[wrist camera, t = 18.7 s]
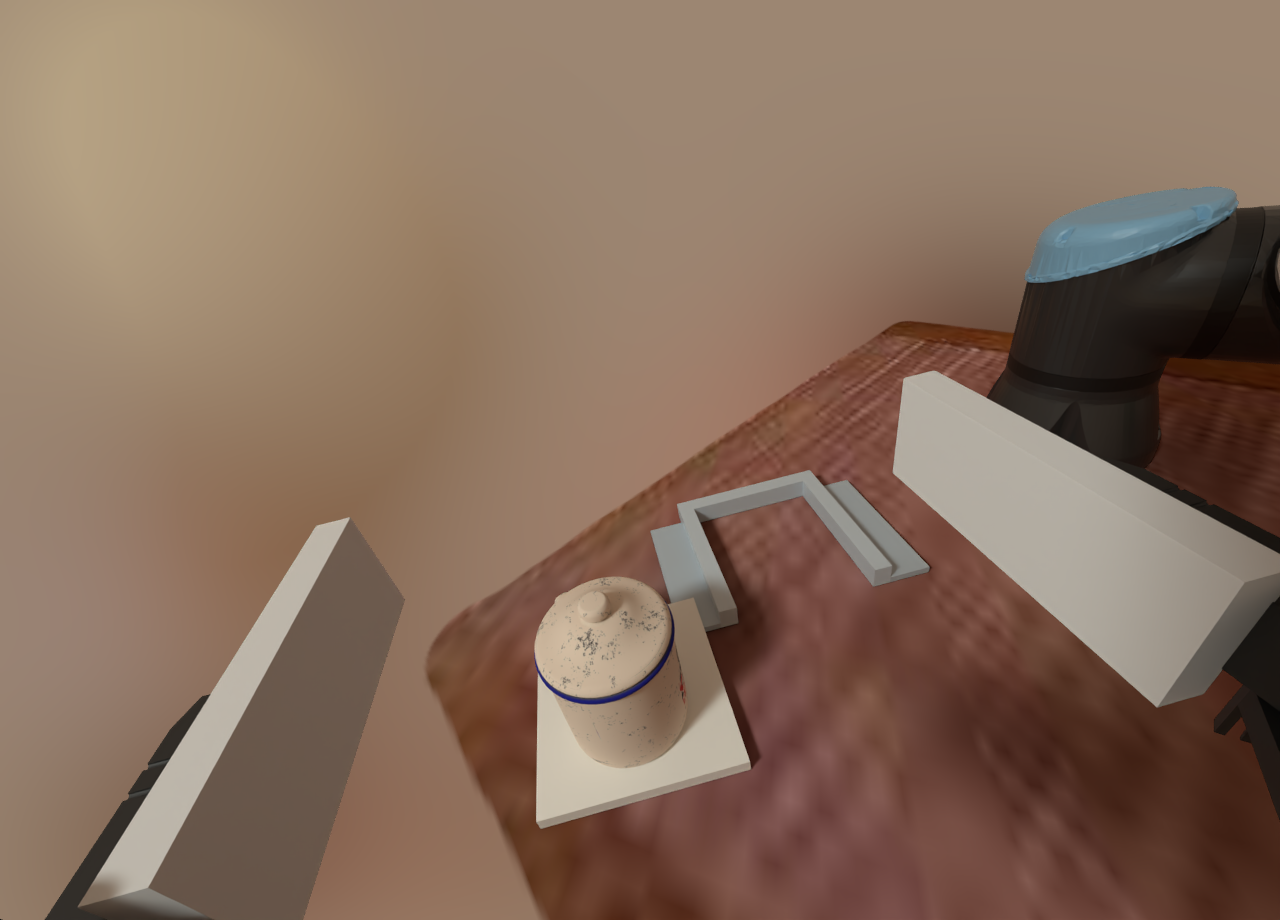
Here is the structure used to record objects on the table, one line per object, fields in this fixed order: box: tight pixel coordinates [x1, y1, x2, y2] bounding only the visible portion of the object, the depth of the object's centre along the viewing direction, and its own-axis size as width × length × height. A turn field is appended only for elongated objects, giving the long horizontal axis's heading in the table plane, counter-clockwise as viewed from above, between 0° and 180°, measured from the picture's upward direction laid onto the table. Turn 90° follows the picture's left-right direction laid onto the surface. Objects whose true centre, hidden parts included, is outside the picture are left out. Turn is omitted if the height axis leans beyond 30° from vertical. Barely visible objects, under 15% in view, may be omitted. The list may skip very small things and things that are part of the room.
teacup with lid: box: [534, 577, 688, 768], centre depth 34 cm, size 12×9×12 cm
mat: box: [536, 598, 751, 829], centre depth 37 cm, size 14×14×1 cm
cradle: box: [651, 470, 930, 632], centre depth 47 cm, size 22×15×2 cm
